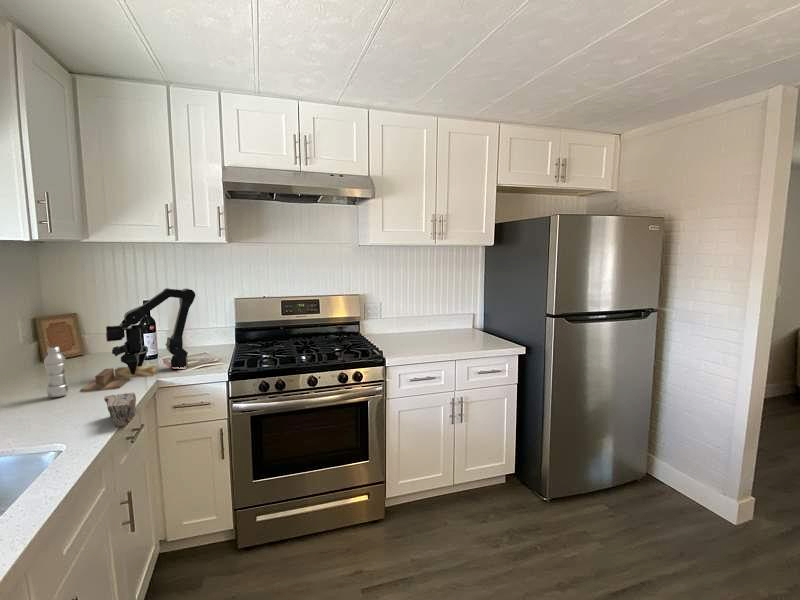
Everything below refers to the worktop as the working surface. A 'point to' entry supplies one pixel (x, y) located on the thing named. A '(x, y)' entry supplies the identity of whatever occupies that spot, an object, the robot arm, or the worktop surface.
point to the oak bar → (136, 371)
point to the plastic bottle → (55, 373)
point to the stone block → (121, 408)
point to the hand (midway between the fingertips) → (136, 371)
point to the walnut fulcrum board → (110, 386)
